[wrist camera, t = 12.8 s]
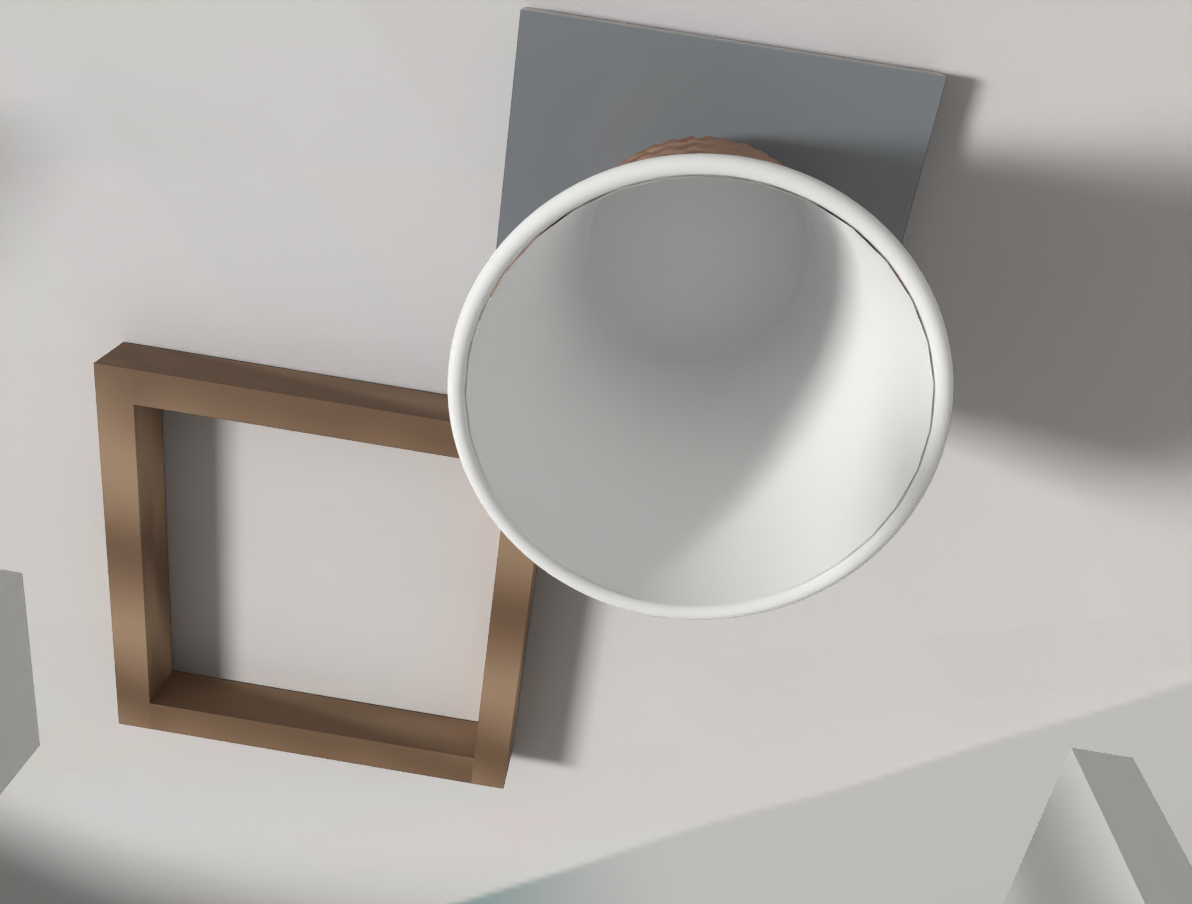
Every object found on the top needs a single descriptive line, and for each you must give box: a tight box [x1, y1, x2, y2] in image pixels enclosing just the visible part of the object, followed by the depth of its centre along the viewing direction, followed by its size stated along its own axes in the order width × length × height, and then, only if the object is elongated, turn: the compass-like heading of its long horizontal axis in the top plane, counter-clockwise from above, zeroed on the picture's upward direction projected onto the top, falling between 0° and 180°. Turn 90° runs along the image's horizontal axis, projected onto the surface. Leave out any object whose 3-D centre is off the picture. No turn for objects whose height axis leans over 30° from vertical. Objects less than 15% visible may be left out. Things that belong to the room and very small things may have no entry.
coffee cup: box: [448, 136, 954, 620], centre depth 27 cm, size 10×10×12 cm
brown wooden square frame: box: [94, 342, 537, 789], centre depth 39 cm, size 15×15×2 cm
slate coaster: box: [496, 7, 946, 249], centre depth 33 cm, size 12×12×1 cm
